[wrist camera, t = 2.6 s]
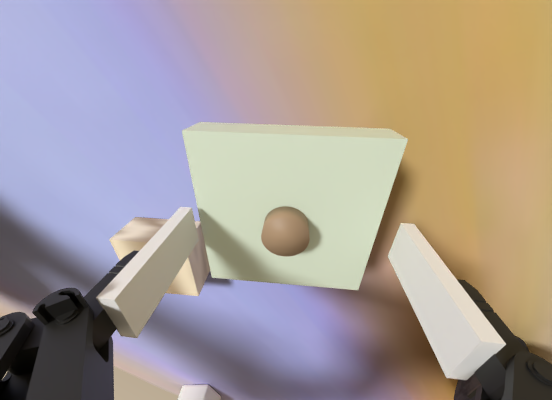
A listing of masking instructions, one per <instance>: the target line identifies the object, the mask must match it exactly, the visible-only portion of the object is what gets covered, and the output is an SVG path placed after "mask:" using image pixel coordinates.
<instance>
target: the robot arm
mask: <svg viewBox="0 0 552 400" xmlns="http://www.w3.org/2000/svg"><path fill="white" fill-rule="evenodd" d="M198 241H199V239H198V234H197V230H196V225H195V221H194V216H193V211H192V208H188V207H180V208H179V209H178V210H177V211H176V212H175V213H174V214H173V216H172V217H171V218H170V219H169V220H168V221H167V222H166V223H165V224H164V225H163V226H162V227H161V228H160V230H159V231H158V232H157V233H156V234H155V235H154V236H153V237H152V238H151V239H150V240H149V241H148V242H147V243H146V245H145V246H144V247H143V248H142V249H141V250H140V251H135V250H134V251H132V252H131V253H129V254H128V255H126V256H125V257H123V258H122V259H121V260H120V261H119V262H118V263H117V264H116V266H115V267H113V268H112V269H111V270H110V271H109V274H106V275H105V277H104V278H103V279H102V280H101V281H100V282H99V283H98V284H97V285H96V286H95V287H94V288H93V289H92V290H91V291H90V292H89V293H88V294H87V295H86V296H85V297H83V296H82V294H81V293H80V292H79V290H77V289H75V288H66V289H62V290H59V291H57V292H54V293H52V294H50V295H49V296H47V297H46V298H44V299H43V300H42V301H41V302H40V303H39V304H37V305H36V307H35V308H34V310H33V312H32V313H33V314H34V315H35V316H36V317H37V318H32V319H30V318H29V317H28V316H27V315H26V314H25V313H22V312H15V313H11V314H8V315H5V316H2V317H1V318H0V400H114V386H113V385H114V383H113V382H114V379H113V340H112V337H111V336H112V334H113V333H114V331H115V330H116V329H117V331H118V332H119V334H120V335H121V336H125V337H133V338H137V337H138V336H139V334H140V333H141V331H142V329H143V328H144V326H145V325H146V323H147V321H148V320H149V318H150V317H151V315H152V314H153V312H154V310H155V309H156V307H157V306H158V304H159V302H160V301H161V299H162V298H163V296H164V294H165V293H166V291H167V290H168V288H169V287H170V285H171V283H172V282H173V280H174V279H175V277H176V275H177V274H178V272H179V271H180V269H181V268H182V266H183V264H184V263H185V261H186V260H187V258H188V256H189V255H190V253H191V252H192V250H193V248H194V247H195V245H196V244H197V242H198ZM388 258H389V260H390V262H391V264H392V266H393V268H394V270H395V272H396V274H397V276H398V278H399V280H400V283H401V285H402V287H403V289H404V291H405V293H406V295H407V297H408V299H409V301H410V303H411V305H412V308H413V310H414V312H415V314H416V316H417V318H418V320H419V322H420V324H421V326H422V328H423V330H424V332H425V335H426V337H427V339H428V341H429V343H430V345H431V347H432V349H433V351H434V353H435V355H436V357H437V360H438V362H439V364H440V366H441V368H442V370H443V372H444V374H445V376H446V378H453V379H460V380H468V379H469V378H470V377H471V376H472V375H473V374H474V373H475V375H476V377H477V378H478V380H479V382H480V384H479V385H478V386H476V387H475V388H474V389H473V390H472V391H470V392H469V394H468V396H467V397H469V398H470V399H471V398H473V397H474V396H475V395H476V396H475V400H552V364H550V363H549V362H547V361H546V360H544V359H543V358H541V357H539V356H537V355H535V354H532V353H529V352H528V351H527V350H526V349H525V348H524V347H523V345H522V344H521V343H520V342H519V341H518V339H517V338H516V337H515V336H514V335H513V333H512V332H511V331H510V330H509V328H508V327H507V326H506V325H505V324H504V322H503V321H502V320H501V319H500V318H499V316H498V315H497V314H496V313H494V312H493V311H494V310H493V309H492V308H491V307H490V305H489V304H488V303H486V300H485V299H484V298H483V297H482V296H481V294H480V293H479V292H478V291H477V290H476V289H475V288H474V287H472V286H471V285H470V284H469V283H467V282H466V281H465V280H457V279H456V278H455V277H454V275H453V274H452V273H451V271H450V270H449V269H448V268H447V266H446V265H445V264H444V262H443V261H442V260H441V258H440V257H439V256H438V254H437V253H436V252H435V251H434V249H433V248H432V247H431V245H430V244H429V243H428V241H427V240H426V239H425V238H424V236H423V235H422V234H421V232H420V231H419V230H418V228H417V227H416V226H415V224H408V223H401V224H400V226H399V229H398V232H397V234H396V237H395V239H394V242H393V244H392V247H391V249H390V252H389V255H388ZM7 371H8V372H7ZM6 372H7V374H6V376H5V377H4V375H5V373H6ZM3 377H4V378H3ZM2 378H3V380H2ZM1 380H2V381H1Z"/></svg>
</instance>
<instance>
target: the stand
mask: <svg viewBox="0 0 552 400" xmlns="http://www.w3.org/2000/svg"><path fill="white" fill-rule="evenodd" d="M168 220H169V219H156V218H141V217H135V218H134V219H133V220H131V221H130V222H129V223H128V224H127V225H126V226H124V227H123V228H122V229H121V230H120V231H119V232H118V233H116V234H115V235H114V236H113V237H112V238H111V239H109V240H110V242H111V244H112V246H113V248H114V250H115V252H116V254H117V256H118V258H119V260H121V259H122V258H123V257H125V256H126V255H128V254H129V253H131V252H132V251H134V250H135V251H140V250H141V249H142V248H143V247H144V246H145V245H146V243H147V242H148V241H149V240H150V239H151V238H152V237H153V236H154V235H155V234H156V233H157V232H158V231H159V230H160V228H161V227H162V226H163V225H164V224H165V223H166V222H167V221H168ZM195 225H196V230H197V234H198V239H199V241H198V242H197V244H196V245H195V247H194V248H193V250H192V252H191V253H190V255H189V256H188V258H187V260H186V261H185V263H184V264H183V266H182V268H181V269H180V271H179V272H178V274H177V275H176V277H175V279H174V280H173V282H172V283H171V285H170V287H169V288H168V290H167V291H166V293H171V294H182V295H193V296H199V294H200V292H201V290H202V288H203V285H204V283H205V281H206V279H207V277H208V274H209V272H210V266H209V261H208V256H207V251H206V246H205V241H204V236H203V232H202V227H201V222H200V221H195Z"/></svg>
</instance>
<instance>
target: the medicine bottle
mask: <svg viewBox="0 0 552 400" xmlns="http://www.w3.org/2000/svg"><path fill="white" fill-rule="evenodd" d="M177 400H221V396H220V395H219V394H218V393H217V392H216V391H215V390H214V389H213V388H211V387H210V386H209V385H208V384H200V385H183V386H182V389H181V391H180V394H179V397H178V399H177Z"/></svg>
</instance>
